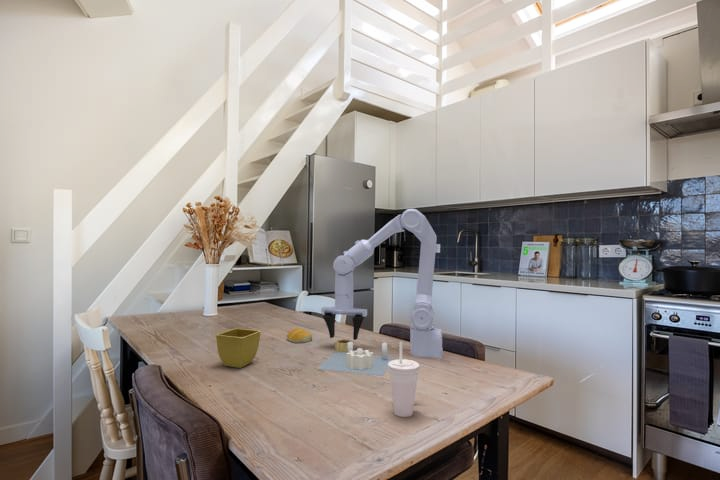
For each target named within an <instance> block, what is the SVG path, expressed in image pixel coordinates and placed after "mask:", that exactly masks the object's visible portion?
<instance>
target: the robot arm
mask: <svg viewBox="0 0 720 480" xmlns="http://www.w3.org/2000/svg"><path fill="white" fill-rule="evenodd" d="M405 229H406V230H407V231H408V232H411V233H413V234H414V236H415V238H417V239H418V240H419V241H420V251H419V265H418V276H417V285H416V297H415V303H414V304H415V305H414V307H413V310H412V312H411V315H410V321H411V324H410V328H409V329H410V331H409V333H410V335H409V337H410V343H409V344H410V346H409V348H410V351H409V353H410V355H411V356H414V357H418V358H432V359H433V358H434V359H439V363H441V361H442V358H443V354H444V350H443V349H444V348H443V330H442V329H441V328H437V327H436V326H435V324H434V323H433V321H434V309H433V307H432V297H433V286H434V285H433V283H434V275H435V274H434V273H435V262H436V251H437V234H436V233H435V231H434V229H433V227H432V225H431V224H430V222H429V220H428V219H427V217H426V216H425V215H424V214H423V213H421V212H420V211H419V210H418V209H416V208H408V209H405V211H403V212H402V214H398V215H397V216H395V217H394V218H393V219H391V220H390V221H388V222H387V223H386V224H385V225H384V226H383V227H382V228H380V229H379V230H378V231H377V232H376V233H374V234H373V235H371V237H370V238H369V239H360V240H356V241H355V242H354V245H353V246H352V247H350V248H349V249H348V250H345V251H343V253H342V254H343V255H338V256H337V257H336V258H335V259H334V261H333V265H332V266H333V270H334V271H335V273H334V274H335V279H334V306H322V307H321V308H320V309H321V310H320V312H321V313H320V314H321V315H322V316H323V318H322V319H323V320H324V322H325V324H326V326H327V330H328V334H329V338H330V339H333V338H334V337H335V333H336V331H335V329H336V328H335V325H336V324H335V323H336V316H337V315H342V316H343V315H345V316H353V317H352V324H353V333H352V335H353V336H352V337H353V338H352V339H353V341H357V340H358V338H359V337H358V336H359V332H360V330H361V329H360V328H361V326H362V323H363V321H364V319H365V317H367V316H368V308H359V307H358V308H357V307H354V271H355V270H356V267H358V266H360V265H361V264H362V263H363V262H365V261H367V260H368V259H369V258H371V256H373V255H374V251H375V248H376V247H378V246H380V244H382V243H383V242H385V241H386V240H387V239H388V238H390V237H391V236H393V235H394V234H396V233H402V232H405V231H406V230H405Z"/></svg>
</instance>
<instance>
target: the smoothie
mask: <svg viewBox="0 0 720 480" xmlns="http://www.w3.org/2000/svg"><path fill="white" fill-rule="evenodd" d="M398 352H399V359H394V360H392V361H390V362H389V363H388V369H387V370H388V371H389V380H390V387H391V394H392V395H391V398H392V405H393V413H394V415H396V416H398V417H402V418H407V417H408V418H409V417H411V416H412V415H413V414H414V406H415V399H416V390H417V382H418V374H419V372H420V370H421V369H420V363H419V362H417V361H415V360H411V359H403V342H402V341H399V351H398Z"/></svg>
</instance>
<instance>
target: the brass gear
mask: <svg viewBox="0 0 720 480" xmlns="http://www.w3.org/2000/svg"><path fill="white" fill-rule="evenodd" d="M348 342H353V343H354V340H352V339H345V338H343V339H337V340H336V341H334V350H336V352H348Z"/></svg>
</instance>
